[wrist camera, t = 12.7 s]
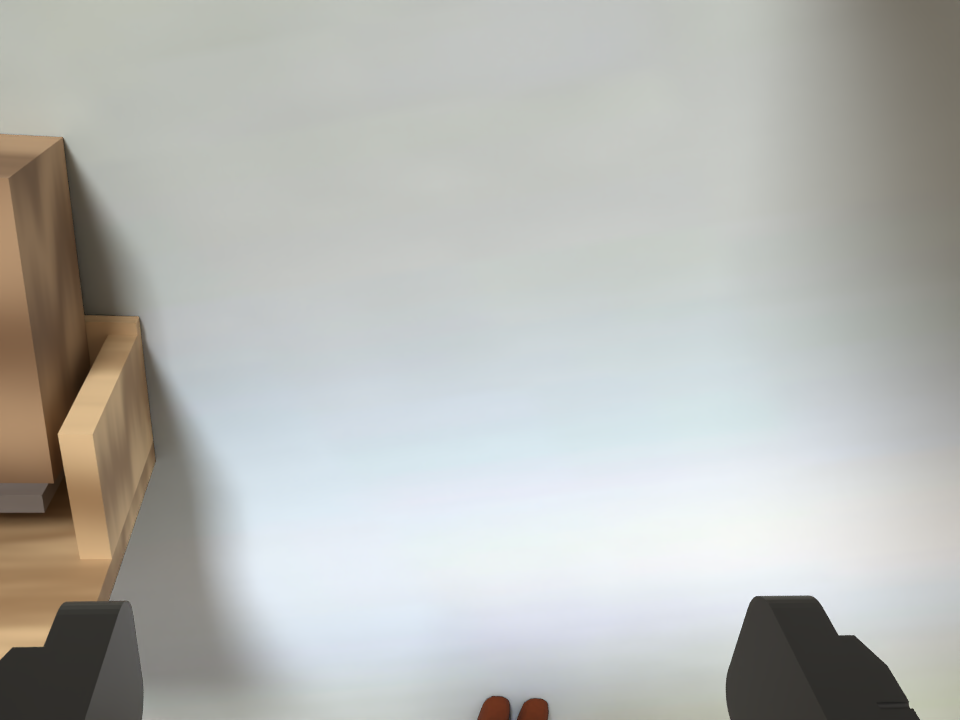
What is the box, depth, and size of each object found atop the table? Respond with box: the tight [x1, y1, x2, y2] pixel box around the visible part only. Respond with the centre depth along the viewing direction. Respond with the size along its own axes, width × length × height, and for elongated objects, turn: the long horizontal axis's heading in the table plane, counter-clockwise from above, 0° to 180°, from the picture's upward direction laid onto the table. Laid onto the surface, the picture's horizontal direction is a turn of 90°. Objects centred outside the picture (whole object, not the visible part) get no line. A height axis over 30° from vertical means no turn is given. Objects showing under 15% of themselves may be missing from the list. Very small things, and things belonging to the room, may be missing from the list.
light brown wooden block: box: [0, 134, 91, 513], centre depth 35 cm, size 13×4×7 cm, turn 175°
